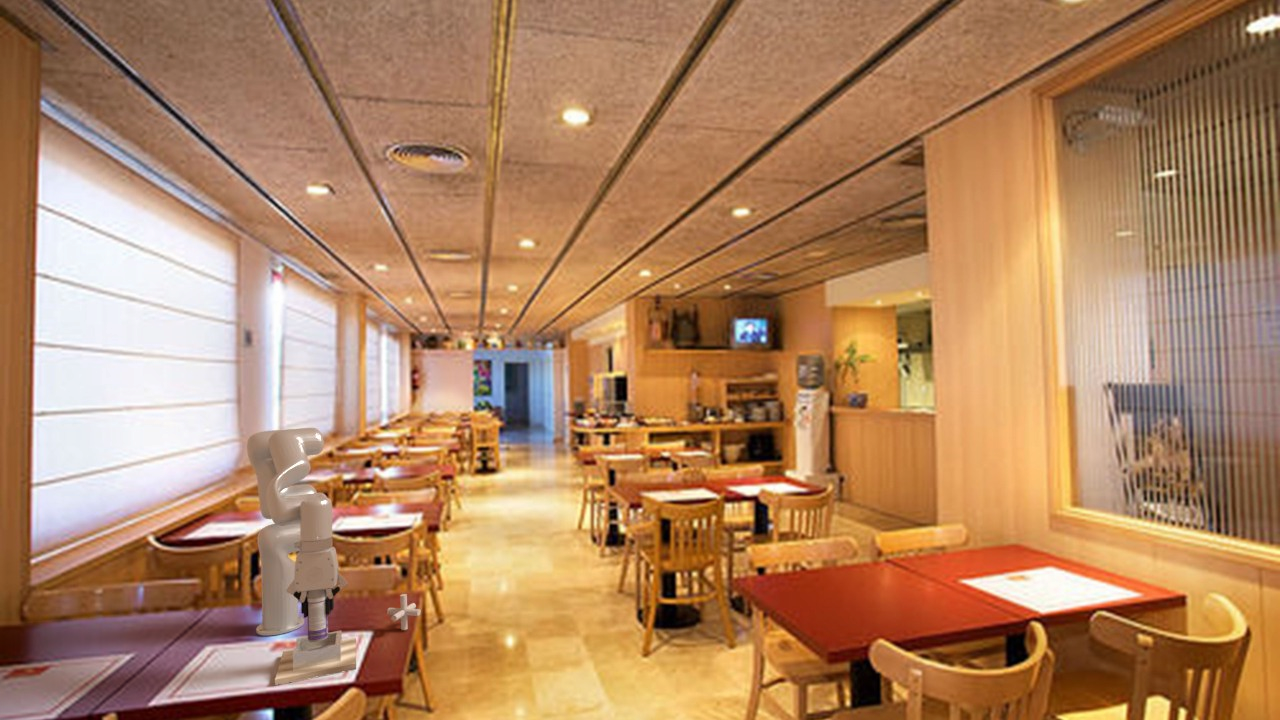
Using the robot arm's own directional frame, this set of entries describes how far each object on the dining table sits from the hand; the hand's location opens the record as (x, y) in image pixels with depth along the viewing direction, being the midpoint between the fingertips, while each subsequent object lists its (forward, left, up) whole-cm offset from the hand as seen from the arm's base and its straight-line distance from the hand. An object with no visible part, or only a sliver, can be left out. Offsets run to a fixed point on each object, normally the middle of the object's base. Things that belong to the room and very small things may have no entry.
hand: (317, 613), depth 163 cm
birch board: (0, 0, -13) cm, 13 cm away
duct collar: (0, 0, -11) cm, 11 cm away
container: (0, 0, -7) cm, 7 cm away
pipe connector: (-13, +22, -13) cm, 29 cm away
